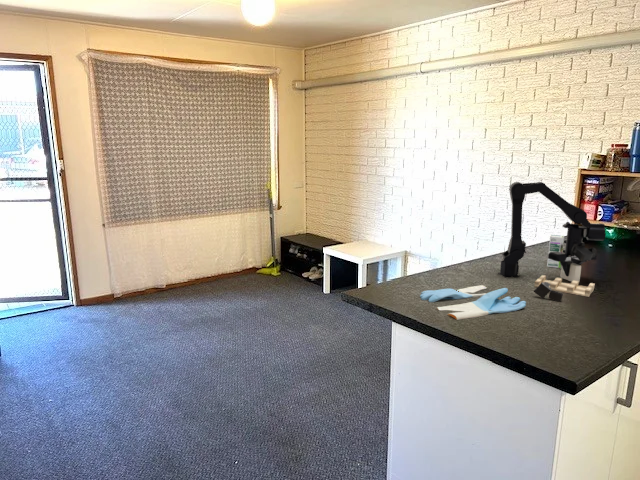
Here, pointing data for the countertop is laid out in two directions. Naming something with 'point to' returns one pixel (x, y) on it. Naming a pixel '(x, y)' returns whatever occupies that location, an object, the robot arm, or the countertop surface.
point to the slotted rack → (566, 286)
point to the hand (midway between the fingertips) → (570, 275)
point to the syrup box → (555, 249)
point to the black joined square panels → (544, 290)
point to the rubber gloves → (475, 307)
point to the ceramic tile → (572, 273)
